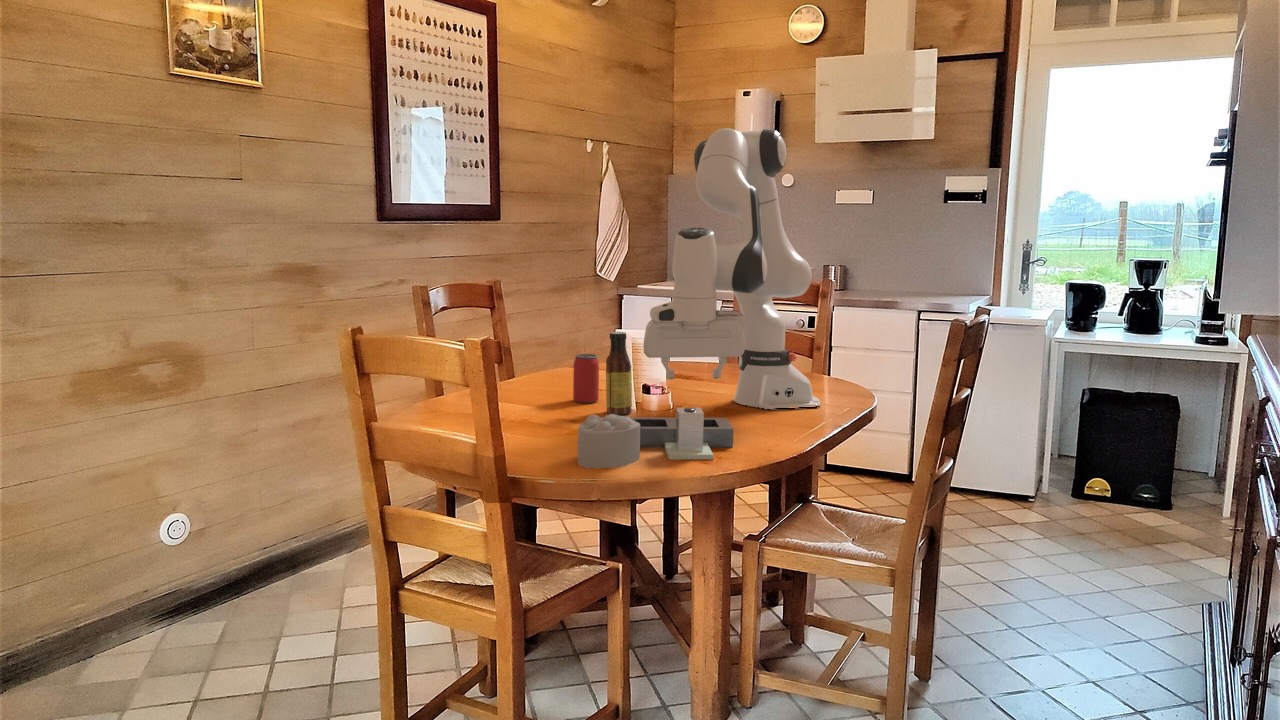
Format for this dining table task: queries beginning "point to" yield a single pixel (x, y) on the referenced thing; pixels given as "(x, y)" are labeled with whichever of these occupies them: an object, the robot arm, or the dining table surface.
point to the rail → (664, 431)
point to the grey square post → (689, 429)
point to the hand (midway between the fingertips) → (693, 378)
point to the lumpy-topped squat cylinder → (608, 441)
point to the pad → (674, 453)
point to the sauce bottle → (618, 376)
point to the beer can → (586, 378)
